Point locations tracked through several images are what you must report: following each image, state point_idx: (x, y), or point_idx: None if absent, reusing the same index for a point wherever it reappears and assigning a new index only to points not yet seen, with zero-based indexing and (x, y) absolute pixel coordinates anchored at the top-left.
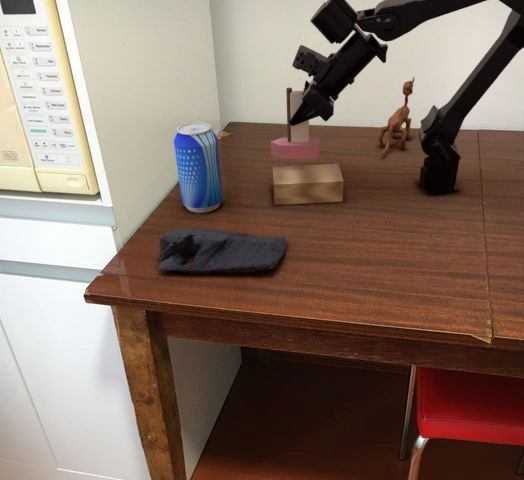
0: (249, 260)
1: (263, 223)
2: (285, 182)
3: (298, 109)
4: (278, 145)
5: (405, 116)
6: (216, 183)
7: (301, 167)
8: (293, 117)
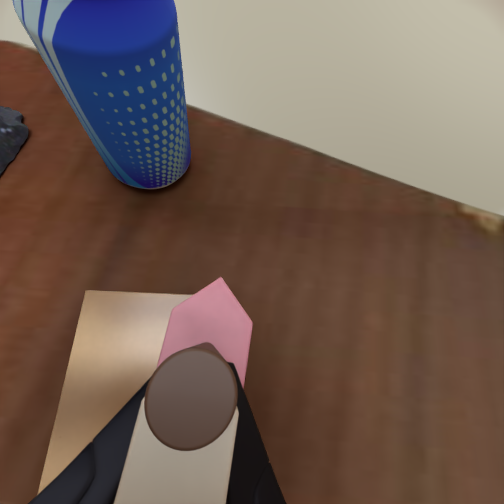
0: None
1: (19, 267)
2: (87, 324)
3: (82, 452)
4: (182, 303)
5: None
6: (98, 146)
7: None
8: (142, 386)
